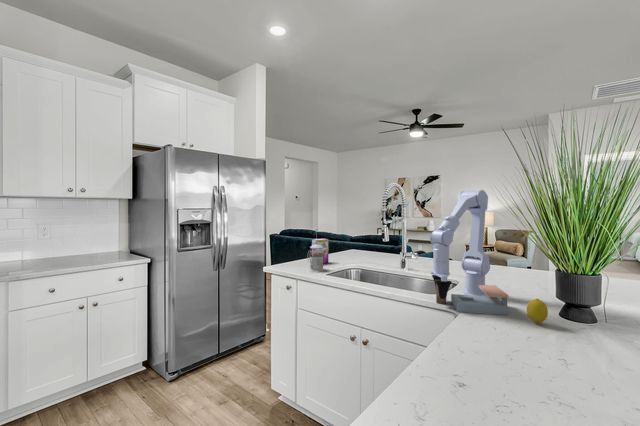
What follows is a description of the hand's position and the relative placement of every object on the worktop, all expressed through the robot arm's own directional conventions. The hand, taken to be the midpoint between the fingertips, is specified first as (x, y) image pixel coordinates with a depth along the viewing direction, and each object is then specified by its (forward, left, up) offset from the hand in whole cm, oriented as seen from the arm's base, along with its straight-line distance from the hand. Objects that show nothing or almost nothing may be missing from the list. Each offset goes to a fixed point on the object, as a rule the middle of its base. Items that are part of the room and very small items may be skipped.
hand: (441, 295), depth 121 cm
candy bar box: (-75, -65, -3) cm, 99 cm away
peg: (0, 0, -3) cm, 3 cm away
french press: (-53, -63, -3) cm, 82 cm away
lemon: (+17, +26, -3) cm, 31 cm away
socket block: (+4, +12, -3) cm, 13 cm away
